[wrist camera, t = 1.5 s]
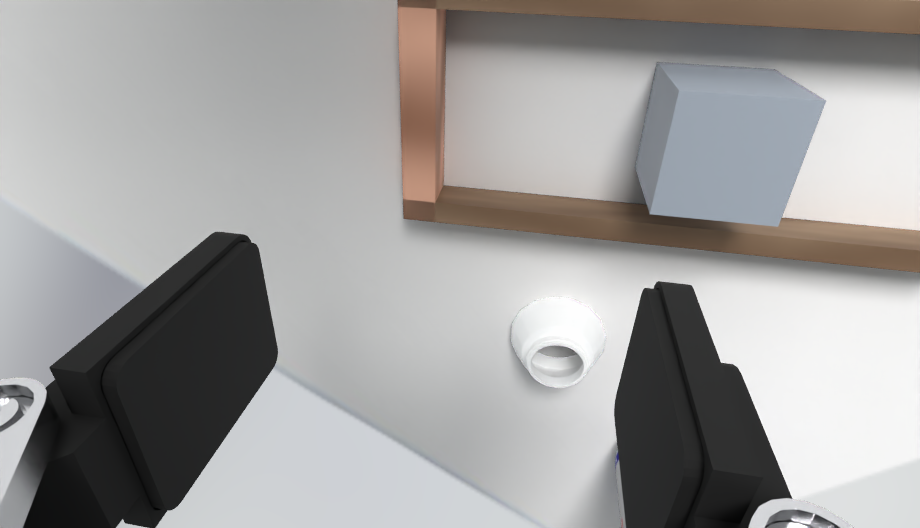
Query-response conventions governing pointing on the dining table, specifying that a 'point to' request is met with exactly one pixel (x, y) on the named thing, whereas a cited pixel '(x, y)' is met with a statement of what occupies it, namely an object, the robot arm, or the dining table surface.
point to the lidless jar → (558, 339)
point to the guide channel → (427, 199)
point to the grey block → (724, 142)
